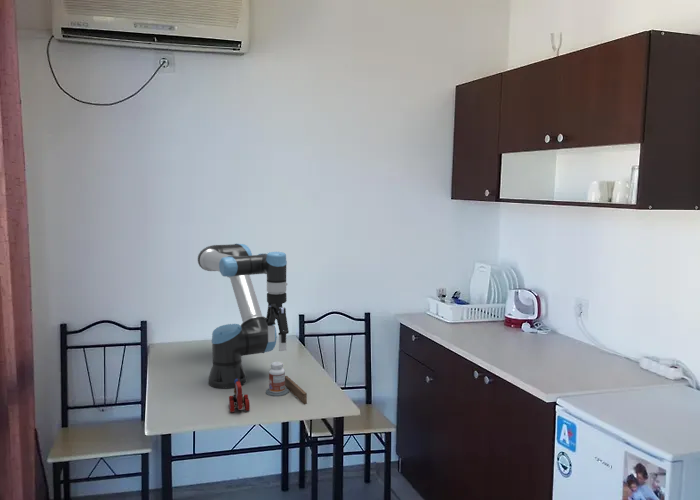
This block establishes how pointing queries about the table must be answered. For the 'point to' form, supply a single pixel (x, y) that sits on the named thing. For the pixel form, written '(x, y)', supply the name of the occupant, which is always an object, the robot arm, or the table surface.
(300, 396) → the divider rail
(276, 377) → the pill bottle
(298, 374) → the table surface
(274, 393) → the slate pad
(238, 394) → the toy fire truck
